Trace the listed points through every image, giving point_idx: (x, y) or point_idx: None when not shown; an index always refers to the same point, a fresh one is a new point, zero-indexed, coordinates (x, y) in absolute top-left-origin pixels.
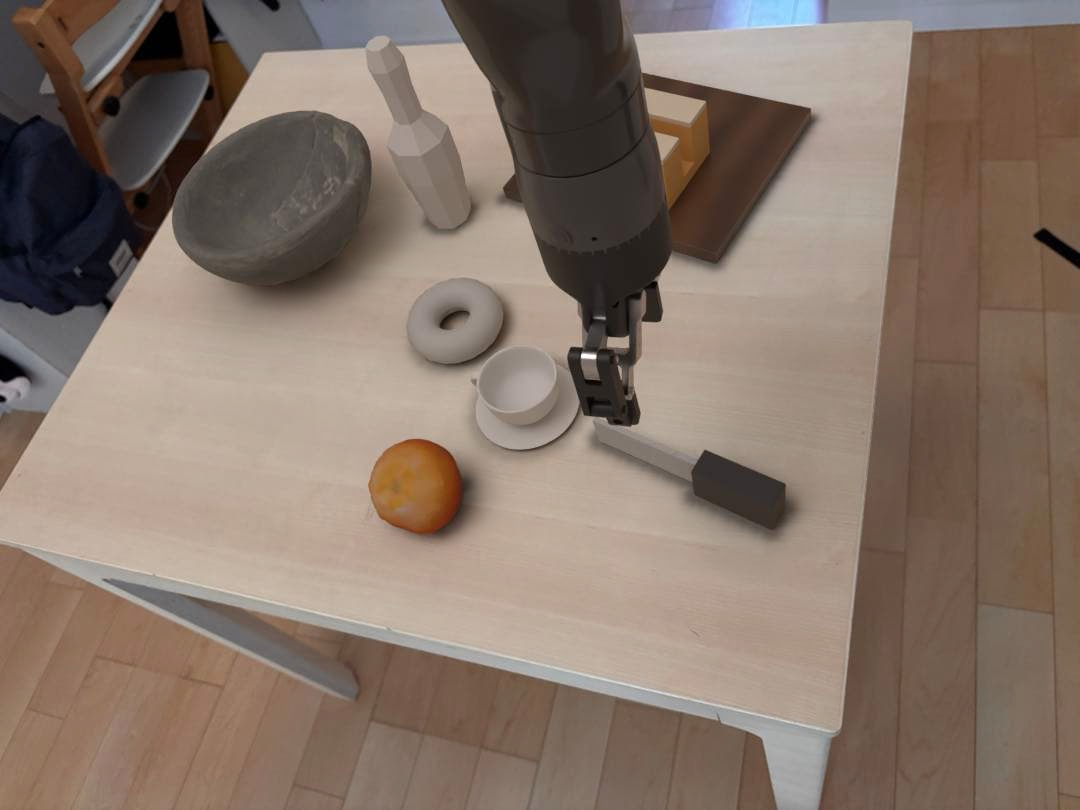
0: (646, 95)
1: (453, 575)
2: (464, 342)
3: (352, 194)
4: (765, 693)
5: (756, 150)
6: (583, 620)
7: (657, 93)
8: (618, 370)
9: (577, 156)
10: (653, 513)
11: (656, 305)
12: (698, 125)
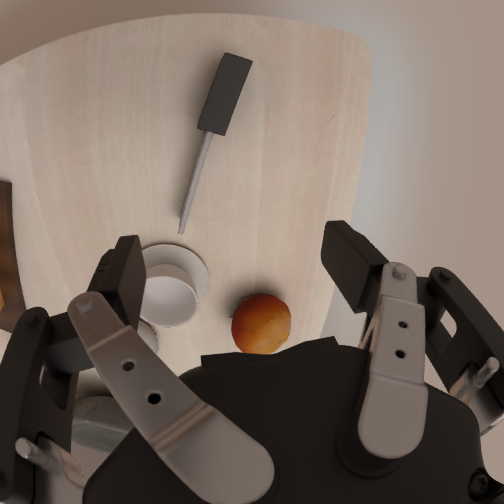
0: None
1: (304, 279)
2: (142, 337)
3: (92, 418)
4: (363, 73)
5: None
6: (330, 193)
7: None
8: (489, 344)
9: None
10: (243, 160)
11: (128, 260)
12: None
